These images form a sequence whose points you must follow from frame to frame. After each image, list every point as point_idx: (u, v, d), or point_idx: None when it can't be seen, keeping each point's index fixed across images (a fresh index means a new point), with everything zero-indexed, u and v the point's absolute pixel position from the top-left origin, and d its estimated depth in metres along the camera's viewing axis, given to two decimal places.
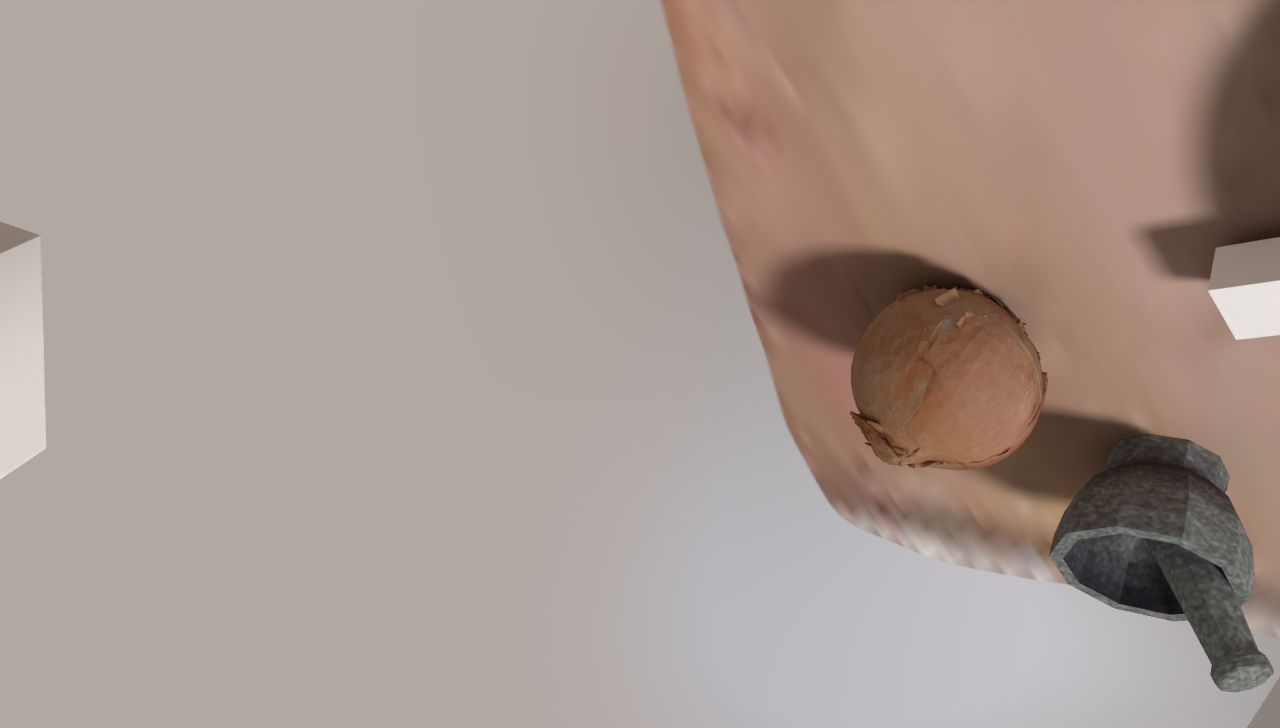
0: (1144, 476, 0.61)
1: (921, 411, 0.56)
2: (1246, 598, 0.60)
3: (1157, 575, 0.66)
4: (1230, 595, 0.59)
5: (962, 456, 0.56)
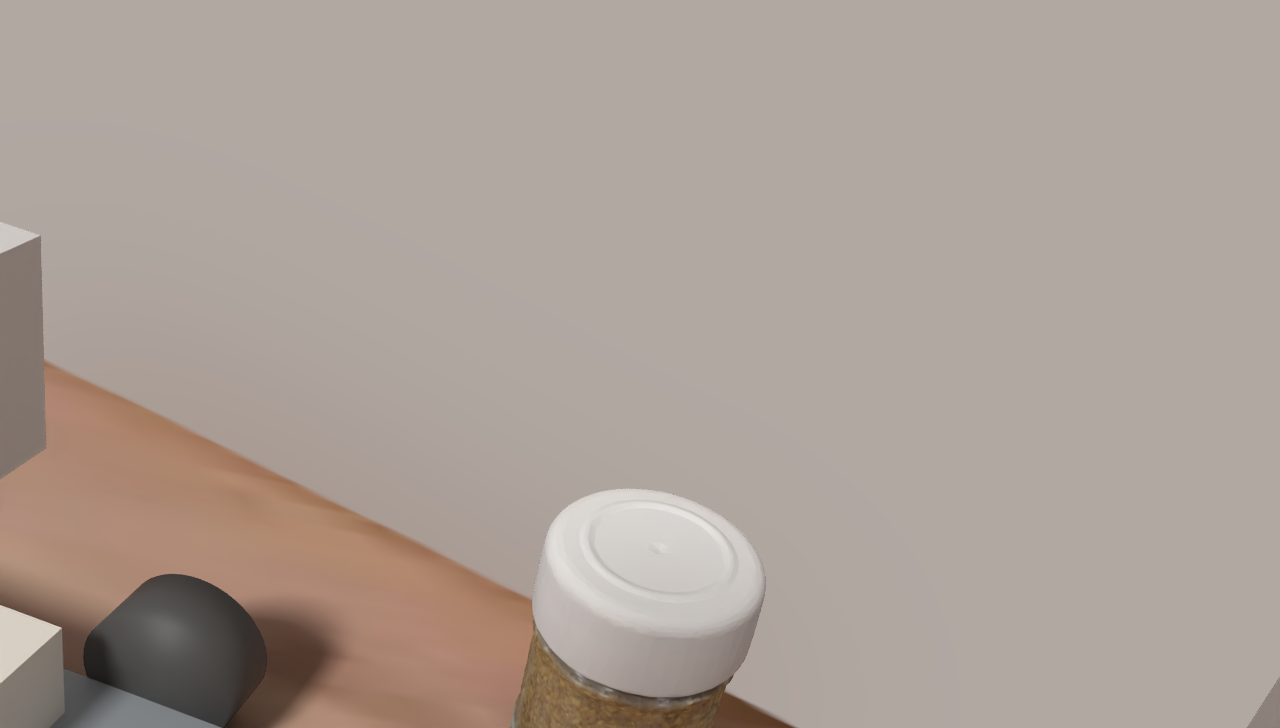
0: None
1: None
2: None
3: None
4: None
5: None
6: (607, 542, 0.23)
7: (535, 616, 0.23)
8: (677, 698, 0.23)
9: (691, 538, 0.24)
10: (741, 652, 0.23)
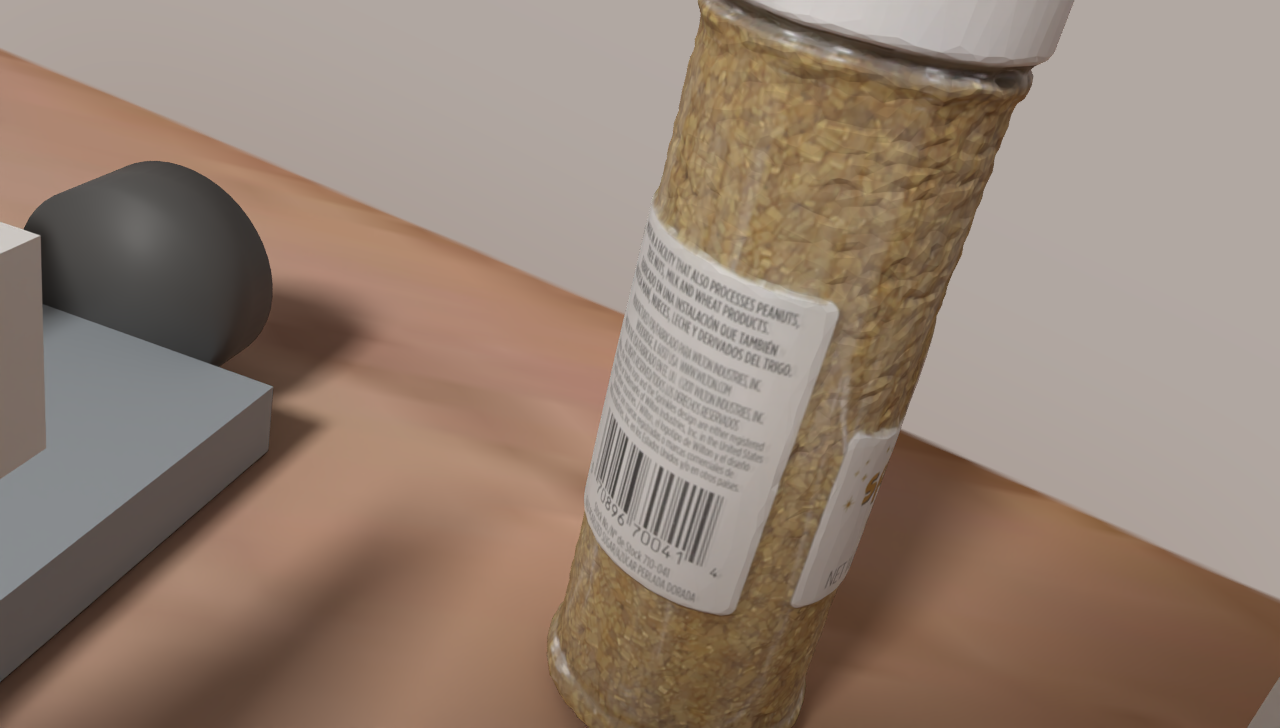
0: None
1: None
2: None
3: None
4: None
5: None
6: None
7: None
8: (957, 77, 0.13)
9: None
10: (1062, 13, 0.14)
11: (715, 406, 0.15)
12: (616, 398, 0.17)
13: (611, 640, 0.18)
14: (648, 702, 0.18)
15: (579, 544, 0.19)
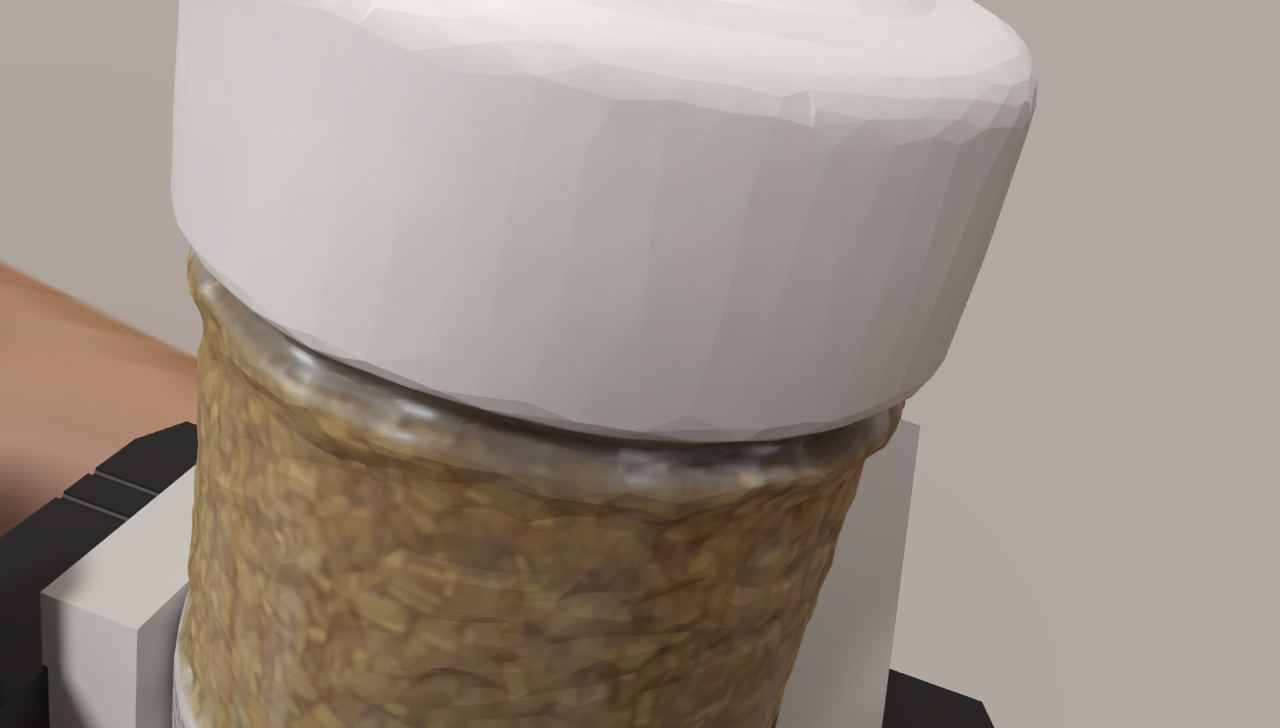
0: None
1: None
2: None
3: None
4: None
5: None
6: None
7: (172, 170, 0.06)
8: (702, 460, 0.06)
9: None
10: (955, 294, 0.06)
11: None
12: None
13: None
14: None
15: None
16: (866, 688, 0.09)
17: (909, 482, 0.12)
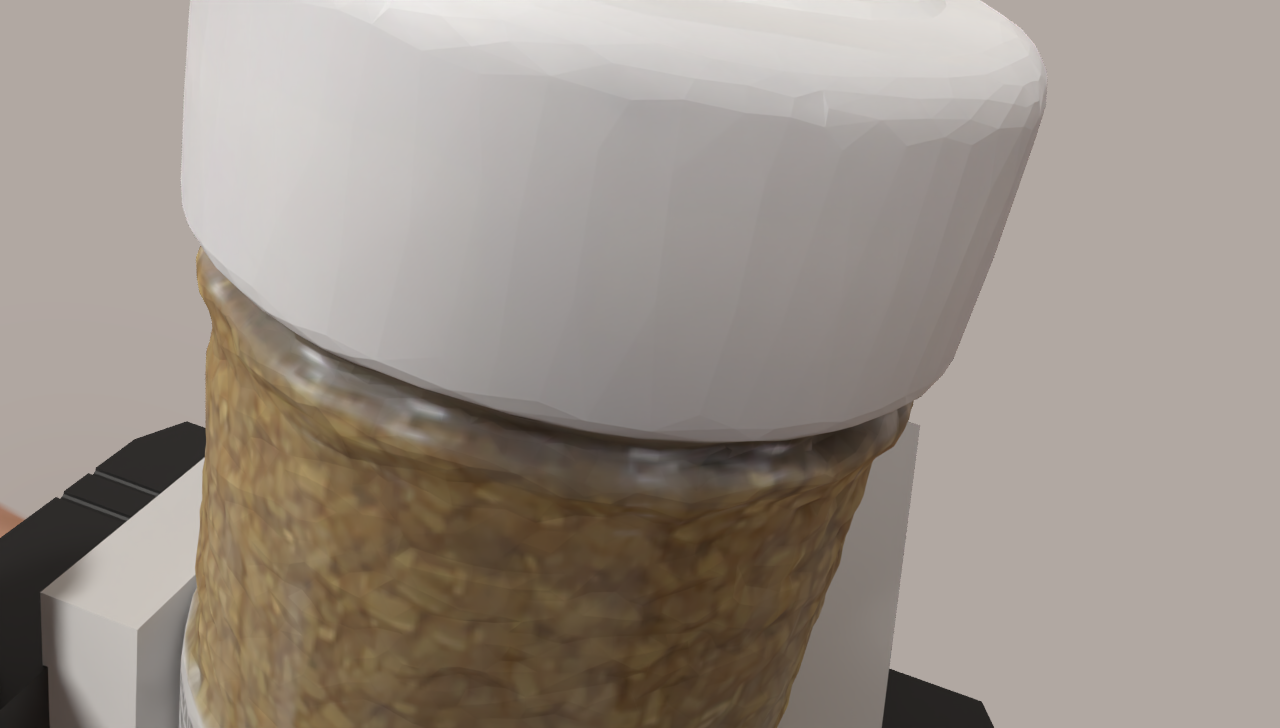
0: None
1: None
2: None
3: None
4: None
5: None
6: None
7: (181, 170, 0.06)
8: (712, 460, 0.06)
9: None
10: (964, 295, 0.06)
11: None
12: None
13: None
14: None
15: None
16: (866, 688, 0.09)
17: (909, 482, 0.12)
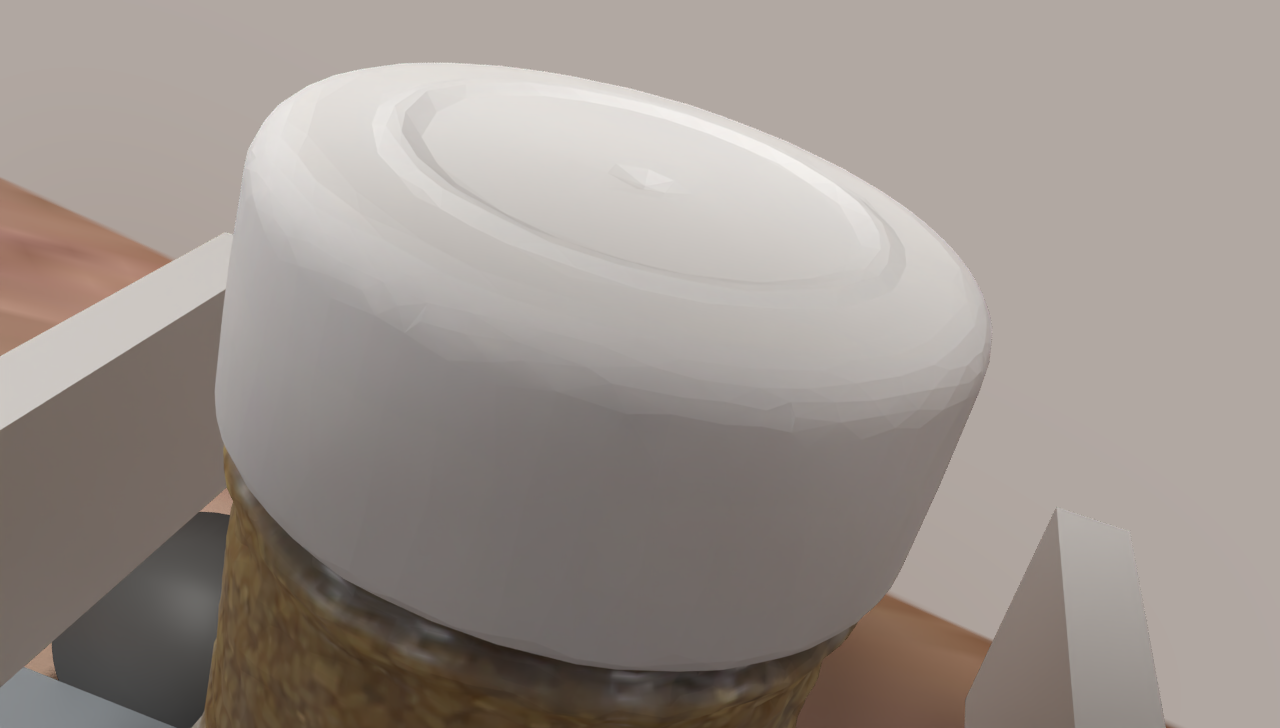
0: None
1: None
2: None
3: None
4: None
5: None
6: (469, 139, 0.07)
7: (216, 380, 0.07)
8: (683, 678, 0.06)
9: (747, 177, 0.08)
10: (911, 530, 0.07)
11: None
12: None
13: None
14: None
15: None
16: None
17: (1140, 604, 0.11)
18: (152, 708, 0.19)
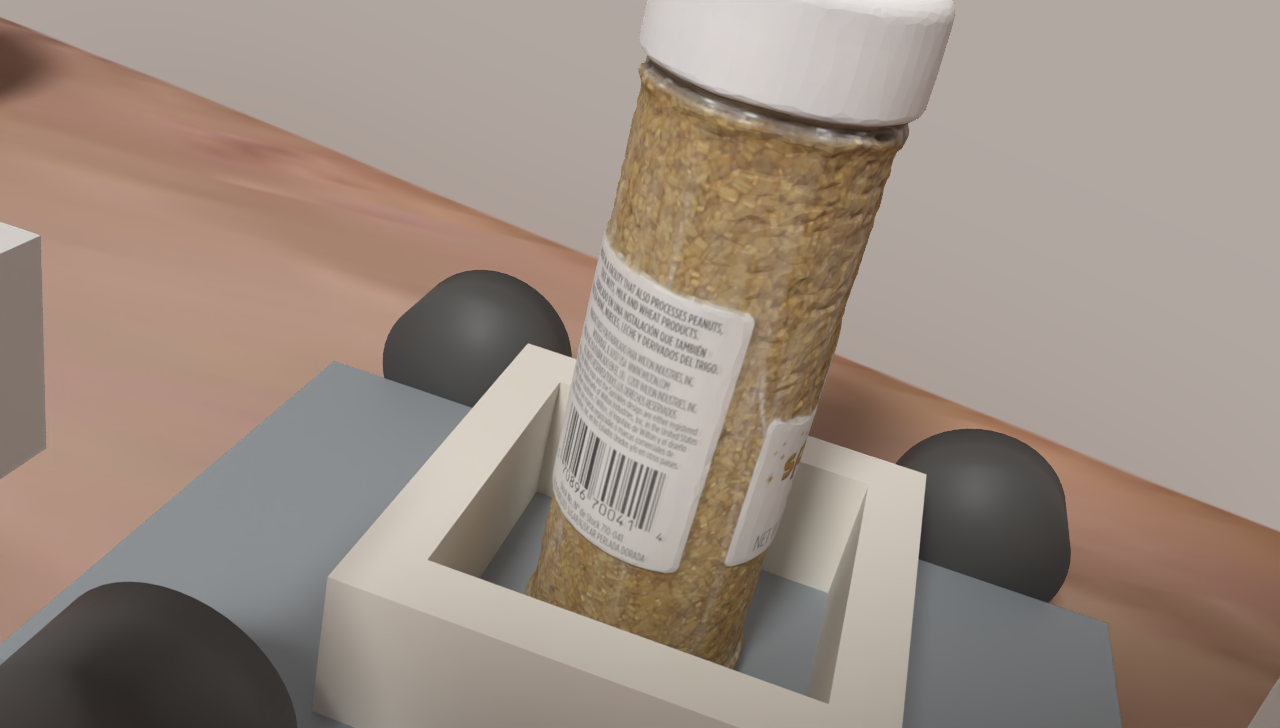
0: None
1: None
2: None
3: None
4: None
5: None
6: None
7: (647, 43, 0.18)
8: (842, 135, 0.17)
9: None
10: (926, 82, 0.17)
11: (657, 398, 0.19)
12: (577, 393, 0.20)
13: (575, 597, 0.21)
14: None
15: (548, 518, 0.22)
16: None
17: None
18: (449, 392, 0.30)
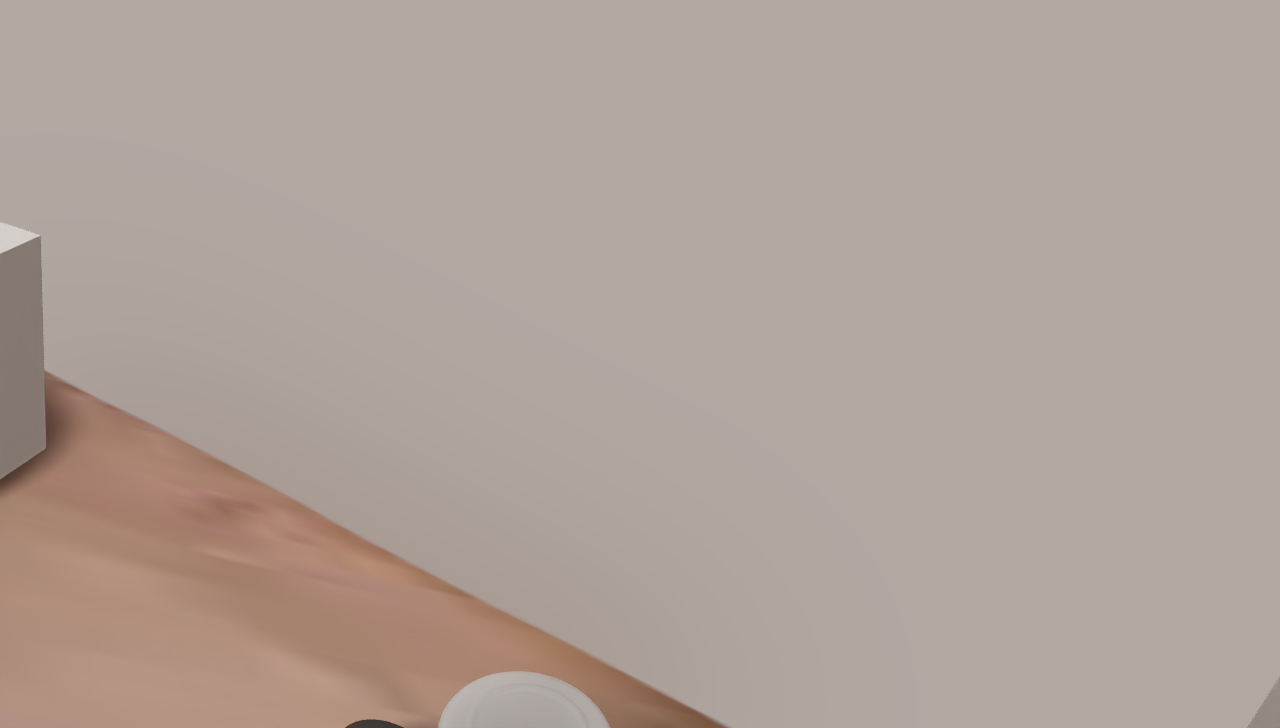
0: None
1: None
2: None
3: None
4: None
5: None
6: (486, 726, 0.30)
7: None
8: None
9: (556, 719, 0.30)
10: None
11: None
12: None
13: None
14: None
15: None
16: None
17: None
18: None
